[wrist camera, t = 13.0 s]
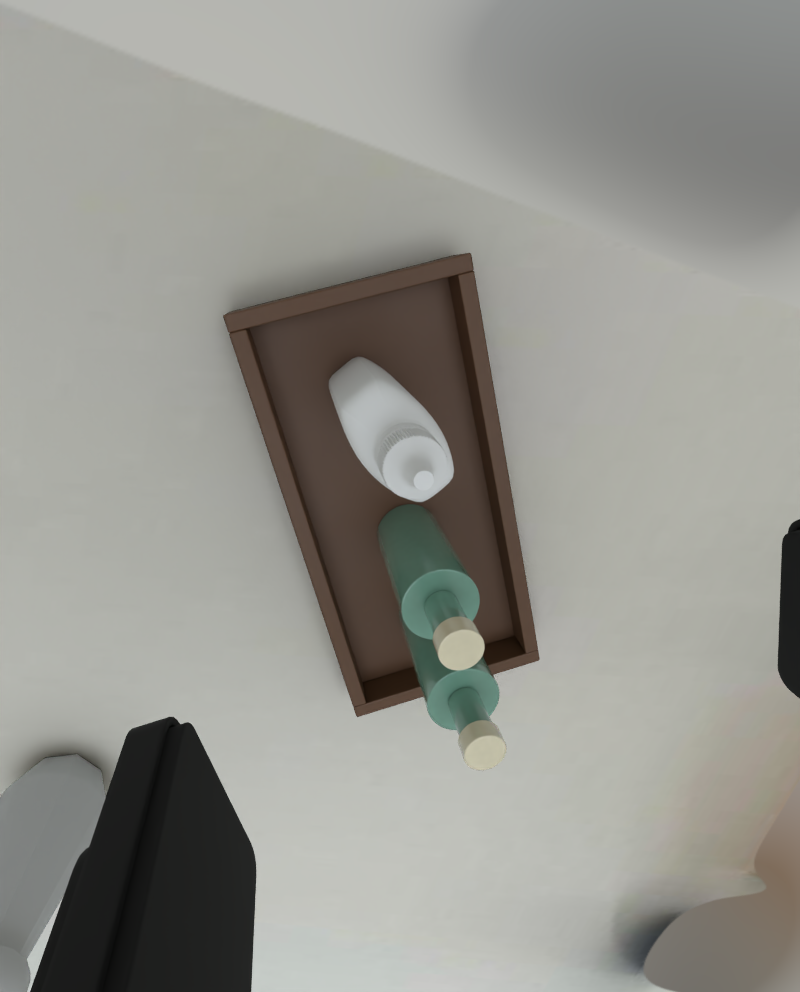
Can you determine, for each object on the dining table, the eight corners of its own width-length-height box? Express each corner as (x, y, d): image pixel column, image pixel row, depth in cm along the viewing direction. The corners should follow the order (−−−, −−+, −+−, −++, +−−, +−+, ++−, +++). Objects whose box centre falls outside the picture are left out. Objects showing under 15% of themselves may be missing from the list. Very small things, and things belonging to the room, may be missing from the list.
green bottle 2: (392, 596, 35) (436, 734, 24) (450, 579, 35) (519, 708, 24) (406, 645, 36) (453, 796, 25) (461, 628, 36) (531, 771, 26)
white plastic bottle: (344, 466, 31) (374, 568, 20) (323, 361, 29) (343, 411, 18) (423, 450, 32) (494, 541, 21) (408, 345, 30) (478, 385, 19)
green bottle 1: (369, 513, 33) (407, 626, 22) (431, 496, 33) (497, 599, 22) (385, 569, 34) (427, 699, 23) (444, 551, 34) (512, 673, 24)
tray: (228, 311, 28) (222, 315, 26) (456, 254, 29) (471, 252, 27) (352, 689, 37) (356, 717, 35) (524, 636, 38) (540, 660, 36)
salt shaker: (136, 789, 37) (62, 1036, 25) (55, 830, 37) (-58, 1095, 25) (79, 727, 35) (-34, 965, 23) (-8, 770, 35) (-165, 1031, 23)
